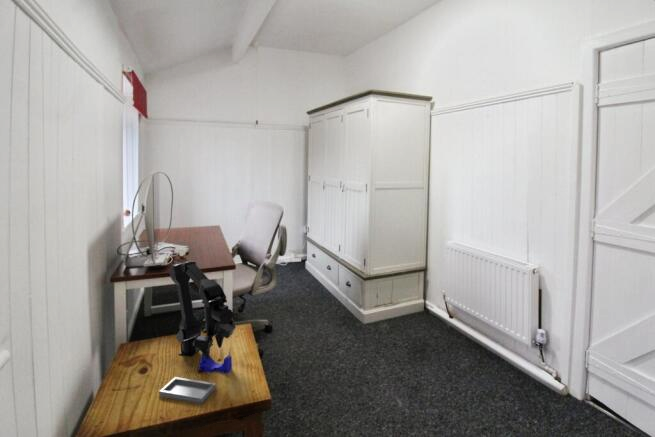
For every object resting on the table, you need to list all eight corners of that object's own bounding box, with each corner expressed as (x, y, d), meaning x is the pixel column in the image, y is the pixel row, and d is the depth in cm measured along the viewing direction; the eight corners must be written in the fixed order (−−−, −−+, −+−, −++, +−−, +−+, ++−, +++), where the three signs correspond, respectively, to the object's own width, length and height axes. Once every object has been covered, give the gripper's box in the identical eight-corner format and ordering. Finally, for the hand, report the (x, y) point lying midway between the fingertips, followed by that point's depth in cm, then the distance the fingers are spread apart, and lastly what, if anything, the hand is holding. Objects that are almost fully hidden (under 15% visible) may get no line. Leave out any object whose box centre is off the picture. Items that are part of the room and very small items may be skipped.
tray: (159, 396, 130) (159, 391, 130) (175, 381, 139) (174, 376, 139) (202, 404, 127) (202, 398, 126) (215, 388, 135) (215, 383, 135)
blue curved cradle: (199, 370, 147) (198, 356, 146) (206, 364, 151) (206, 350, 150) (225, 375, 143) (224, 361, 142) (231, 369, 148) (231, 355, 147)
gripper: (218, 329, 132) (220, 369, 135) (242, 308, 150) (243, 344, 153) (191, 325, 135) (193, 364, 137) (217, 306, 153) (218, 341, 155)
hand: (213, 353), depth 146 cm, fingers open, 9 cm apart
